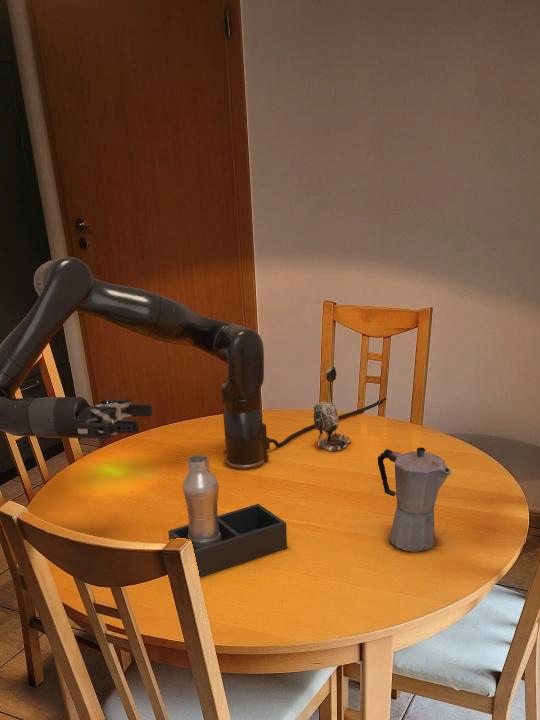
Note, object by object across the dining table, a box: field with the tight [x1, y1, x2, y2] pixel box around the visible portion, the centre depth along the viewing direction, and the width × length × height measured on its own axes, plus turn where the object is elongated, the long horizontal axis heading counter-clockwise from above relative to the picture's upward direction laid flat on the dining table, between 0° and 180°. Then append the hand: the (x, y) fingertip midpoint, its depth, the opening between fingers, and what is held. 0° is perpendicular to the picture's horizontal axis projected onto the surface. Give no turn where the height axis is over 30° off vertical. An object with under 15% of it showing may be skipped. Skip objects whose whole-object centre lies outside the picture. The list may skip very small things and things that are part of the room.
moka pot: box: [377, 446, 453, 553], centre depth 150 cm, size 10×15×20 cm, turn 58°
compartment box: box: [167, 503, 288, 578], centre depth 152 cm, size 10×20×6 cm, turn 123°
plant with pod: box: [313, 365, 352, 452], centre depth 196 cm, size 8×11×20 cm
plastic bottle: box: [182, 454, 222, 550], centre depth 146 cm, size 6×7×20 cm
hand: (144, 418), depth 144 cm, fingers open, 8 cm apart
